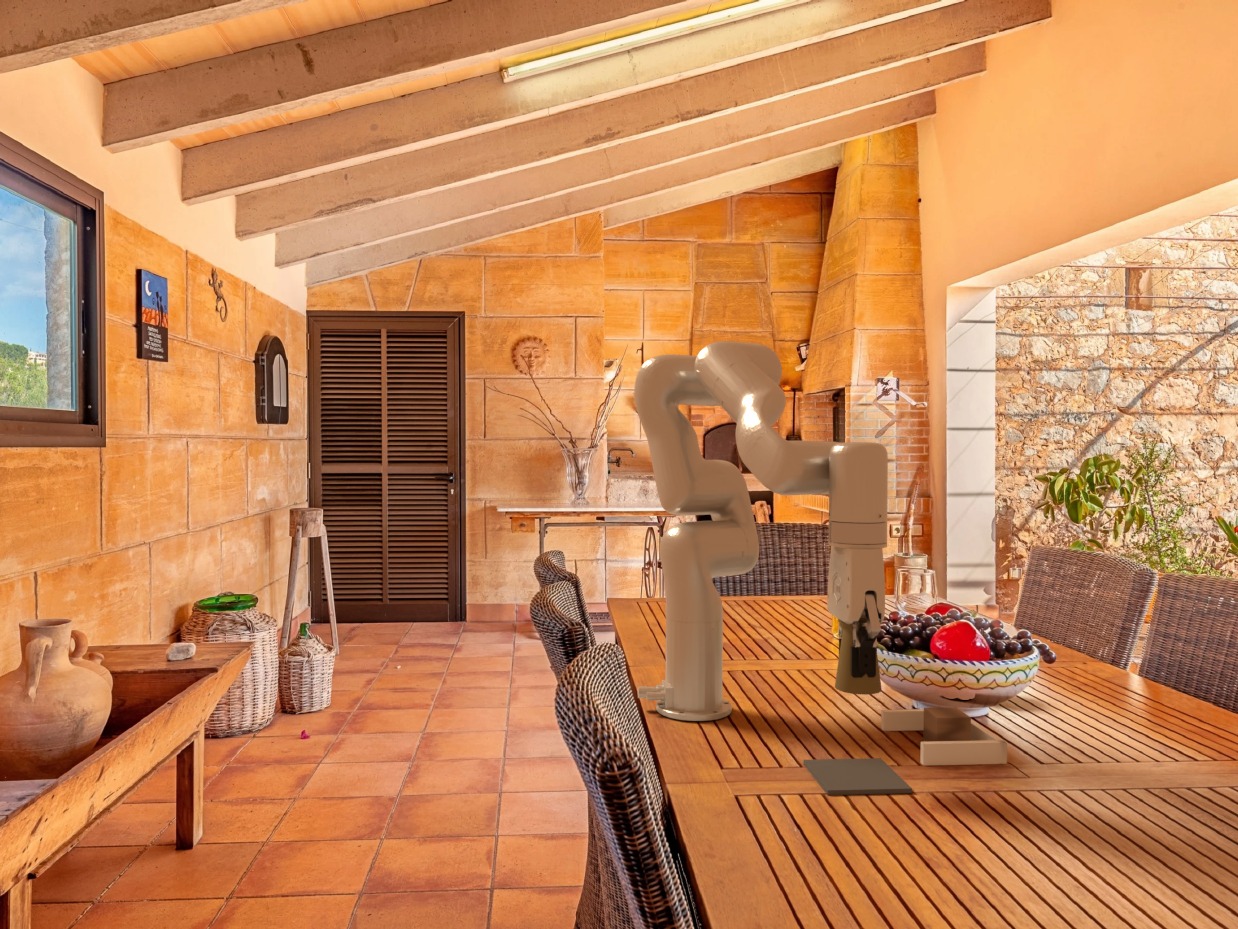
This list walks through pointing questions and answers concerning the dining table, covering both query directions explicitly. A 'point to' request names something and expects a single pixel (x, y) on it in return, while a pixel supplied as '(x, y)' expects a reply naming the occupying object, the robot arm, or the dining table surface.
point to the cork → (844, 666)
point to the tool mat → (856, 776)
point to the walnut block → (946, 725)
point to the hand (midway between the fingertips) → (856, 670)
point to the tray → (972, 752)
